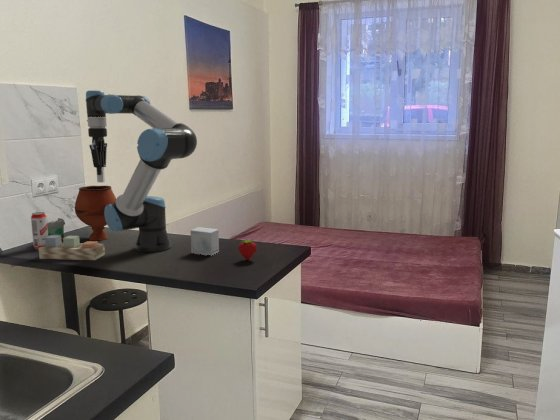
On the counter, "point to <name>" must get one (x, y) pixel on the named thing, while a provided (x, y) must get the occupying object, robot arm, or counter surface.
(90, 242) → the terracotta button
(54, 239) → the light blue block
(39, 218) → the beer can
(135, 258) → the counter surface
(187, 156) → the robot arm
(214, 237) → the skincare box
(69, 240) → the sage-green button
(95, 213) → the goblet
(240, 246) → the strawberry
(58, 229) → the food container
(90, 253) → the button panel
